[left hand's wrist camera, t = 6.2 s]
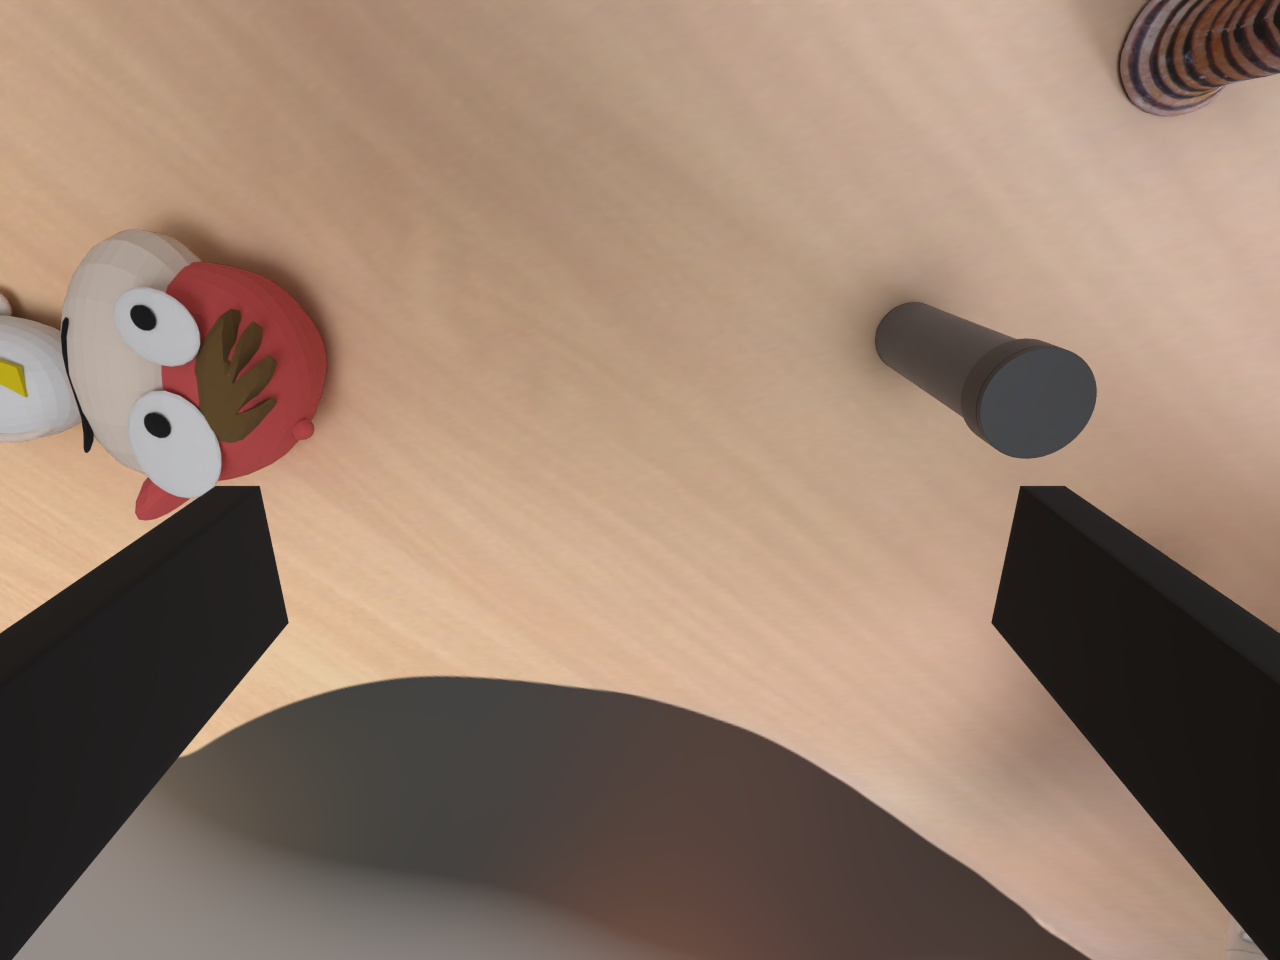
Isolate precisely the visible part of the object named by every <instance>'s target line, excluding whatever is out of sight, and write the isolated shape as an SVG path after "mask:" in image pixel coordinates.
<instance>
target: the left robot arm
mask: <svg viewBox="0 0 1280 960" xmlns="http://www.w3.org/2000/svg"><path fill="white" fill-rule="evenodd" d="M288 623H289V622H288V618H287V613H286V608H285V604H284V599H283V594H282V589H281V585H280V580H279V575H278V571H277V566H276V561H275V556H274V552H273V547H272V542H271V537H270V533H269V528H268V523H267V519H266V514H265V509H264V504H263V500H262V495H261V490H260V486H215V487H213V488H212V489H210V490H209V491H207V492H206V493H204V494H203V495H201V496H200V497H199V498H197V499H196V500H194V501H193V502H191V503H190V504H188V505H187V506H185V507H184V508H183V509H181V510H180V511H178V512H177V513H175V514H174V515H172V516H171V517H169V518H168V519H166V520H165V521H164V522H162V523H161V524H159V525H158V526H156V527H155V528H153V529H152V530H150V531H149V532H148V533H146V534H145V535H143V536H142V537H140V538H139V539H137V540H136V541H134V542H133V543H131V544H130V545H129V546H127V547H126V548H124V549H123V550H121V551H120V552H118V553H117V554H115V555H114V556H112V557H111V558H110V559H108V560H107V561H105V562H104V563H102V564H101V565H99V566H98V567H96V568H95V569H94V570H92V571H91V572H89V573H88V574H86V575H85V576H83V577H82V578H80V579H79V580H77V581H76V582H75V583H73V584H72V585H70V586H69V587H67V588H66V589H64V590H63V591H61V592H60V593H58V594H57V595H56V596H54V597H53V598H51V599H50V600H48V601H47V602H45V603H44V604H42V605H41V606H40V607H38V608H37V609H35V610H34V611H32V612H31V613H29V614H28V615H26V616H25V617H23V618H22V619H21V620H19V621H18V622H16V623H15V624H13V625H12V626H10V627H9V628H7V629H6V630H4V631H3V632H2V633H0V960H12V959H13V958H14V956H15V955H16V954H17V953H18V952H19V950H20V949H21V948H22V947H23V946H24V944H25V943H26V942H27V941H28V939H29V938H30V937H31V936H32V935H33V933H34V932H35V931H36V930H37V928H38V927H39V926H40V925H41V924H42V922H43V921H44V920H45V919H46V918H47V916H48V915H49V914H50V913H51V911H52V910H53V909H54V908H55V907H56V905H57V904H58V903H59V902H60V900H61V899H62V898H63V897H64V896H65V894H66V893H67V892H68V891H69V890H70V888H71V887H72V886H73V885H74V883H75V882H76V881H77V880H78V879H79V877H80V876H81V875H82V874H83V872H84V871H85V870H86V869H87V868H88V866H89V865H90V864H91V863H92V861H93V860H94V859H95V858H96V857H97V855H98V854H99V853H100V852H101V850H102V849H103V848H104V847H105V846H106V844H107V843H108V842H109V841H110V840H111V838H112V837H113V836H114V835H115V833H116V832H117V831H118V830H119V829H120V827H121V826H122V825H123V824H124V822H125V821H126V820H127V819H128V818H129V816H130V815H131V814H132V813H133V812H134V810H135V809H136V808H137V807H138V805H139V804H140V803H141V802H142V801H143V799H144V798H145V797H146V796H147V795H148V793H149V792H150V791H151V790H152V788H153V787H154V786H155V785H156V784H157V782H158V781H159V780H160V779H161V777H162V776H163V775H164V774H165V773H166V771H167V770H168V769H169V768H170V767H171V765H172V764H173V763H174V762H175V760H176V759H177V758H178V757H179V756H180V754H181V753H182V752H183V751H184V750H185V748H186V747H187V746H188V745H189V743H190V742H191V741H192V740H193V739H194V737H195V736H196V735H197V734H198V732H199V731H200V730H201V729H202V728H203V726H204V725H205V724H206V723H207V722H208V720H209V719H210V718H211V717H212V715H213V714H214V713H215V712H216V711H217V709H218V708H219V707H220V706H221V704H222V703H223V702H224V701H225V700H226V698H227V697H228V696H229V695H230V694H231V692H232V691H233V690H234V689H235V687H236V686H237V685H238V684H239V683H240V681H241V680H242V679H243V678H244V676H245V675H246V674H247V673H248V672H249V670H250V669H251V668H252V667H253V666H254V664H255V663H256V662H257V661H258V659H259V658H260V657H261V656H262V655H263V653H264V652H265V651H266V650H267V648H268V647H269V646H270V645H271V644H272V642H273V641H274V640H275V639H276V638H277V636H278V635H279V634H280V633H281V631H282V630H283V629H284V628H285V627H286V625H287V624H288ZM991 623H992V624H993V625H994V627H995V628H996V629H997V630H998V631H999V633H1000V634H1001V635H1002V636H1003V638H1004V639H1005V640H1006V641H1007V642H1008V644H1009V645H1010V646H1011V647H1012V648H1013V650H1014V651H1015V652H1016V653H1017V655H1018V656H1019V657H1020V658H1021V659H1022V661H1023V662H1024V663H1025V664H1026V666H1027V667H1028V668H1029V669H1030V670H1031V672H1032V673H1033V674H1034V675H1035V676H1036V678H1037V679H1038V680H1039V681H1040V683H1041V684H1042V685H1043V686H1044V687H1045V689H1046V690H1047V691H1048V692H1049V694H1050V695H1051V696H1052V697H1053V698H1054V700H1055V701H1056V702H1057V703H1058V704H1059V706H1060V707H1061V708H1062V709H1063V711H1064V712H1065V713H1066V714H1067V715H1068V717H1069V718H1070V719H1071V720H1072V722H1073V723H1074V724H1075V725H1076V726H1077V728H1078V729H1079V730H1080V731H1081V732H1082V734H1083V735H1084V736H1085V737H1086V739H1087V740H1088V741H1089V742H1090V743H1091V745H1092V746H1093V747H1094V748H1095V750H1096V751H1097V752H1098V753H1099V754H1100V756H1101V757H1102V758H1103V759H1104V760H1105V762H1106V763H1107V764H1108V765H1109V767H1110V768H1111V769H1112V770H1113V771H1114V773H1115V774H1116V775H1117V776H1118V778H1119V779H1120V780H1121V781H1122V782H1123V784H1124V785H1125V786H1126V787H1127V788H1128V790H1129V791H1130V792H1131V793H1132V795H1133V796H1134V797H1135V798H1136V799H1137V801H1138V802H1139V803H1140V804H1141V806H1142V807H1143V808H1144V809H1145V810H1146V812H1147V813H1148V814H1149V815H1150V816H1151V818H1152V819H1153V820H1154V821H1155V823H1156V824H1157V825H1158V826H1159V827H1160V829H1161V830H1162V831H1163V832H1164V834H1165V835H1166V836H1167V837H1168V838H1169V840H1170V841H1171V842H1172V843H1173V844H1174V846H1175V847H1176V848H1177V849H1178V851H1179V852H1180V853H1181V854H1182V855H1183V857H1184V858H1185V859H1186V860H1187V862H1188V863H1189V864H1190V865H1191V866H1192V868H1193V869H1194V870H1195V871H1196V872H1197V874H1198V875H1199V876H1200V877H1201V879H1202V880H1203V881H1204V882H1205V883H1206V885H1207V886H1208V887H1209V888H1210V890H1211V891H1212V892H1213V893H1214V894H1215V896H1216V897H1217V898H1218V899H1219V900H1220V902H1221V903H1222V904H1223V905H1224V907H1225V908H1226V909H1227V910H1228V911H1229V913H1230V914H1231V915H1232V916H1233V918H1234V919H1235V920H1236V921H1237V922H1238V924H1239V925H1240V926H1241V927H1242V928H1243V930H1244V931H1245V932H1246V933H1247V935H1248V936H1249V937H1250V938H1251V939H1252V941H1253V942H1254V943H1255V944H1256V946H1257V947H1258V948H1259V949H1260V950H1261V952H1262V953H1263V954H1264V955H1265V956H1266V958H1267V959H1268V960H1280V633H1278V632H1277V631H1276V630H1274V629H1273V628H1271V627H1270V626H1268V625H1267V624H1265V623H1264V622H1262V621H1261V620H1259V619H1258V618H1257V617H1255V616H1254V615H1252V614H1251V613H1249V612H1248V611H1246V610H1245V609H1243V608H1242V607H1240V606H1239V605H1238V604H1236V603H1235V602H1233V601H1232V600H1230V599H1229V598H1227V597H1226V596H1224V595H1223V594H1222V593H1220V592H1219V591H1217V590H1216V589H1214V588H1213V587H1211V586H1210V585H1208V584H1207V583H1205V582H1204V581H1203V580H1201V579H1200V578H1198V577H1197V576H1195V575H1194V574H1192V573H1191V572H1189V571H1188V570H1186V569H1185V568H1184V567H1182V566H1181V565H1179V564H1178V563H1176V562H1175V561H1173V560H1172V559H1170V558H1169V557H1168V556H1166V555H1165V554H1163V553H1162V552H1160V551H1159V550H1157V549H1156V548H1154V547H1153V546H1151V545H1150V544H1149V543H1147V542H1146V541H1144V540H1143V539H1141V538H1140V537H1138V536H1137V535H1135V534H1134V533H1132V532H1131V531H1130V530H1128V529H1127V528H1125V527H1124V526H1122V525H1121V524H1119V523H1118V522H1116V521H1115V520H1114V519H1112V518H1111V517H1109V516H1108V515H1106V514H1105V513H1103V512H1102V511H1100V510H1099V509H1097V508H1096V507H1095V506H1093V505H1092V504H1090V503H1089V502H1087V501H1086V500H1084V499H1083V498H1081V497H1080V496H1079V495H1077V494H1076V493H1074V492H1073V491H1071V490H1070V489H1068V488H1067V487H1065V486H1020V490H1019V495H1018V500H1017V504H1016V509H1015V514H1014V519H1013V523H1012V528H1011V533H1010V537H1009V542H1008V547H1007V552H1006V556H1005V561H1004V566H1003V570H1002V575H1001V580H1000V585H999V589H998V594H997V599H996V604H995V608H994V613H993V618H992V622H991Z"/></svg>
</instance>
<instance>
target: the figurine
mask: <svg viewBox="0 0 1280 960" xmlns="http://www.w3.org/2000/svg"><path fill="white" fill-rule="evenodd" d="M1124 45H1125V47H1124V48H1123V50H1122V54H1121V62H1120V70H1121V77H1122V81H1123V85H1124V87H1125V90H1126V92H1127V94H1128V96H1129V98H1130V99H1131V101H1132V102H1133V103H1134V104H1135V105H1137V106H1138V107H1140V108H1141V109H1143V110H1144V111H1146V112H1148V113H1153V114H1156V115H1159V116H1177V115H1181V114H1187V113H1190V112H1193V111H1195V110H1197V109H1199V108H1202V107H1204V106H1205V105H1207V104H1208V103H1210V102H1211V101H1212V100H1213V99H1214V98H1215V97H1216V96H1217V95H1218V94H1219V93H1220V92H1221V91H1222V90H1223V88H1224V87H1225V86H1226V84H1230V83H1235V82H1239V81H1244V80H1249V79H1254V78H1260V77H1266V76H1270V75H1275V74H1279V73H1280V0H1151V1H1150V2H1149V3H1148V4H1147V6H1146V7H1145V8H1144V9H1143V11H1142V12H1141V14H1140V15H1139V16H1138V18H1137V19H1136V21H1135V23H1134V25H1133V27H1132V29H1131V31H1130V33H1129V35H1128V38H1127V41H1126V43H1125V44H1124Z"/></svg>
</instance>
